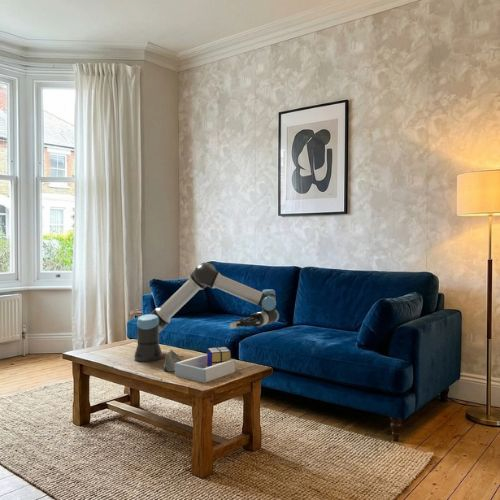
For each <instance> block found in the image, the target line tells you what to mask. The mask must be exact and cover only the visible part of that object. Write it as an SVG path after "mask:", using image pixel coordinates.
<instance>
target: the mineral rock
mask: <svg viewBox="0 0 500 500" xmlns="http://www.w3.org/2000/svg"><path fill="white" fill-rule="evenodd" d="M164 358H165V359H164V362H163V365H162V367H163V371H164V372H168V373H169V372H175V363H177V362H180V359H179V356H178V354H177V353H176V352H175V351H174V350H173V349H170V351H168V352H167V353H166V354H165V357H164Z"/></svg>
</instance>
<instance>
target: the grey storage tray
mask: <svg viewBox="0 0 500 500" xmlns="http://www.w3.org/2000/svg"><path fill="white" fill-rule="evenodd" d="M207 359H208V358H207V353H206V354H205V353H204V354H201V355H198V356H195V357H192V358H191V357H190V358H187V359H184V360H181V361H180V360H179V362H177V363H175V370H174V376H176V377H180V378H184V379H188V380H190V381H191V380H192V381H196V382H199V383H207V382H211V381H213V380H217V379H219V378H222V377H224V376H228V375H231V374H233V373H235V372H236V359H232V358H231V360H229V361H226V362H222V363H219V364H216V365H213V366H210V367H207Z"/></svg>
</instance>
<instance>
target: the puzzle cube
mask: <svg viewBox="0 0 500 500" xmlns="http://www.w3.org/2000/svg"><path fill="white" fill-rule="evenodd" d="M206 349H207V351H206V354H207V358H208V359H207V367H210V366H213V365H216V364H219V363H222V362H226V361H229V360H232V352H231V350H230V349H228V347H226V346H221V347H209V348H206ZM207 367H206V368H207Z"/></svg>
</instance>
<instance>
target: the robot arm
mask: <svg viewBox="0 0 500 500" xmlns="http://www.w3.org/2000/svg"><path fill="white" fill-rule="evenodd" d="M207 287H208V288H211V289H218V290H221V291H223V292H225V293H228V294H229V295H232V296H234V297H236V298H237V297H238V299H242V300H243V301H246V302H249V303H250V304H254V305H256V306H258V307H260V308H262V309H261V310H262V311H259V312H254V313H252V314H251V315H250V316H249V317H245V318H244V317H241V318H239V319H236V320H235V321H234V322H229V329H237V328H241V327H244V328H247V327H253V328H258V327H263V326H265V325H270V324H274V323H276V322H278V320H279V318H280V313H279V312H278V310H277V309H276V306H277V301H276V291H275V290H274V289H269V288H268V289H262V291H260V290H257V289H255V288H252V287H251V286H248V285H245V284H243V283H241V282H238V281H236V280H233V279H232V278H229V277H227V276H225V275H223V274H221V273H220V272H219V271H217V268H216V266H215V265H214V264H212V263H210V262H201V263H200V264H198V265H197V266H195V268H194V270H193V271H192V272H191V273H190V274H189V276H188V279H187V281H185V282H184V283H183V284H182V286H181V287H179V289H178V290H176V292H174V293H173V294H172V295H171V296H170V297H169V298H168V299H167V300H166V301H165V302H164V303H163V304H162V305H161V306H160V307H156V308H154V309H153V310H152V311H151V312H150V313H149V314H148V313H146V314H142V315H140V316H138V318H137V322H136V327H137V328H136V330H137V345H136V349H135V352H134V355H133V357H134V358H133V359H134V360H135V361H136V362H142V363H143V362H144V363H148V362H157V361H159V360H161V359H163V351H162V349H161V346H160V333H161V332H162V331H163V330H164V329H165V328H166V327H167V326H168V325H169V324H171V323H170V322H171V318H172V317H173V316H175V314H176V313H177V312H179V311H180V310H181V308H183V306H184V305H186V304H187V303H188V302H189V301H190V300H191V299H192V298H193V297H194V296H195V295H196V294H197V293H198V292H199V291H200V290H204V289H206V288H207Z"/></svg>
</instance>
